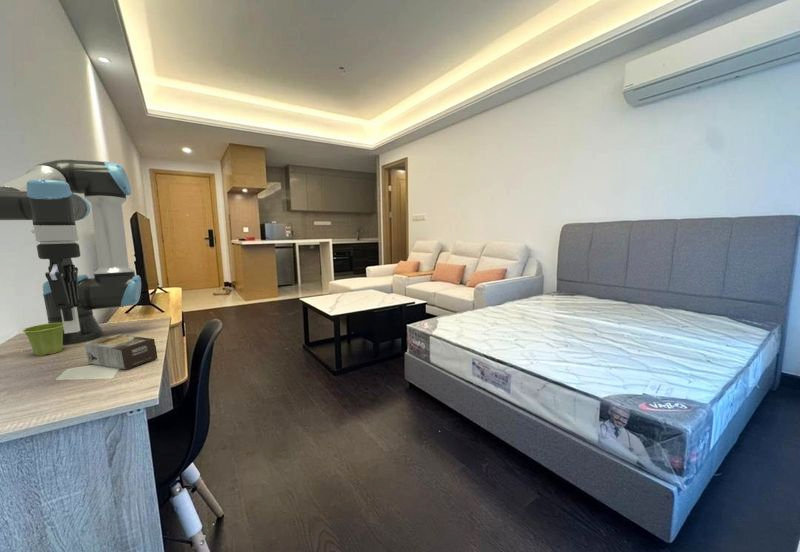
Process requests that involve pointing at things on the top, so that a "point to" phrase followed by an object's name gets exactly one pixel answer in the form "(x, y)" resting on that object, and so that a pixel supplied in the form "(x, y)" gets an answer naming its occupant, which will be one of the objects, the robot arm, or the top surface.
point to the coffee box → (121, 351)
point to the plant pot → (45, 338)
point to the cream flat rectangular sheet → (89, 372)
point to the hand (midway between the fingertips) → (72, 331)
